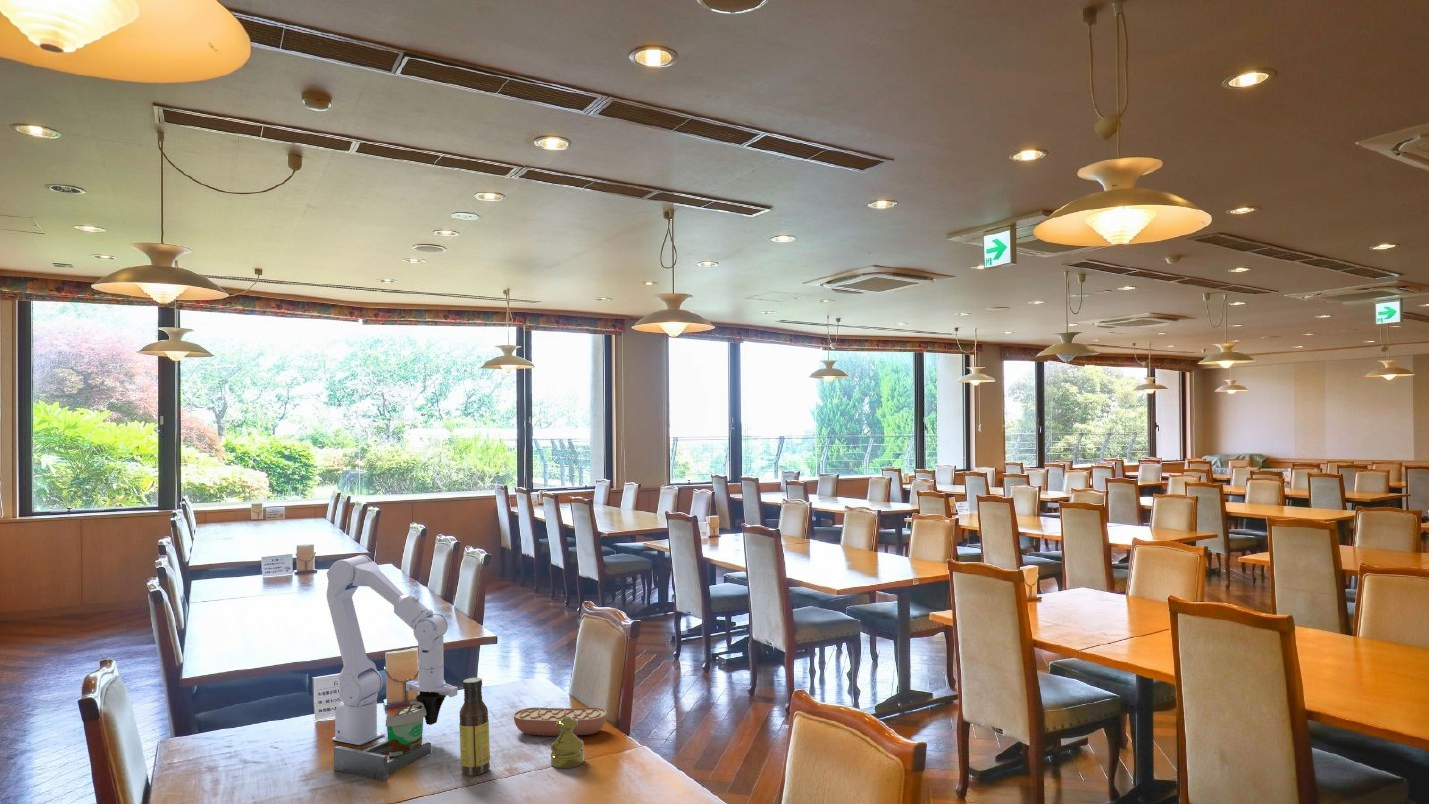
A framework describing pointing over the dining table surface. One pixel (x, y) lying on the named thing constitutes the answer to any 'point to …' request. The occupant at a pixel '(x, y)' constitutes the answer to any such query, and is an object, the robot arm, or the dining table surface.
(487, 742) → the sauce bottle
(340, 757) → the dock
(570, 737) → the olive rounded piece
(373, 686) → the robot arm
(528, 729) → the terracotta bread basket
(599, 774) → the dining table surface
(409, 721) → the food container
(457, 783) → the dining table surface
